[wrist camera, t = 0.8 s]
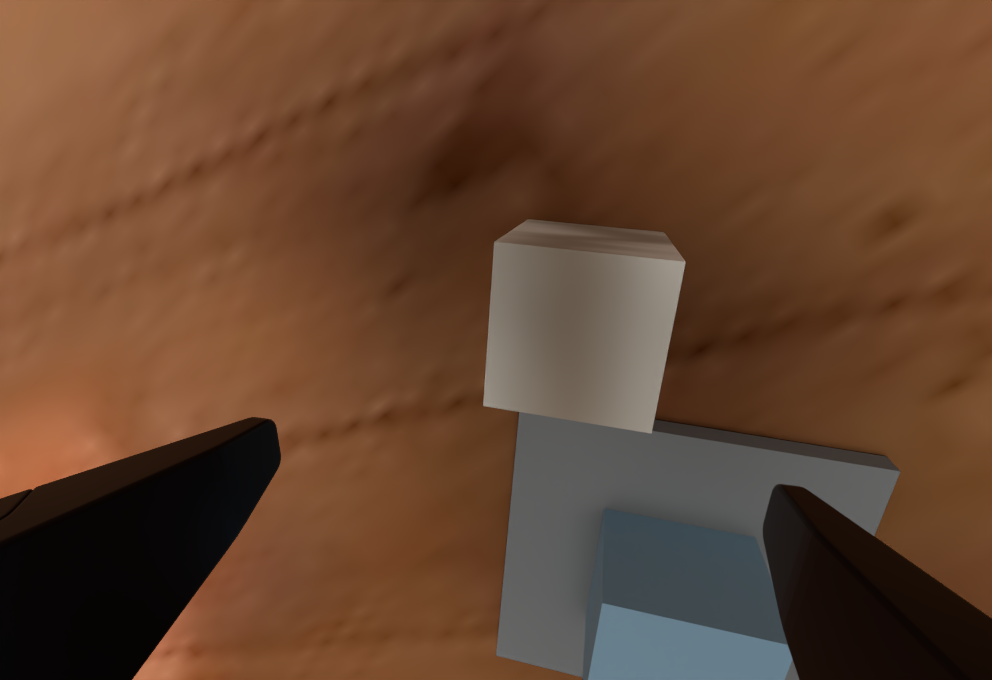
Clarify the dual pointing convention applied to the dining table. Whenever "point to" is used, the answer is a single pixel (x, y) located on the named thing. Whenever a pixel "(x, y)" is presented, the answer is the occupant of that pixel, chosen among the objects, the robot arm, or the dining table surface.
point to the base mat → (645, 509)
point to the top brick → (581, 322)
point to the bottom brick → (680, 605)
